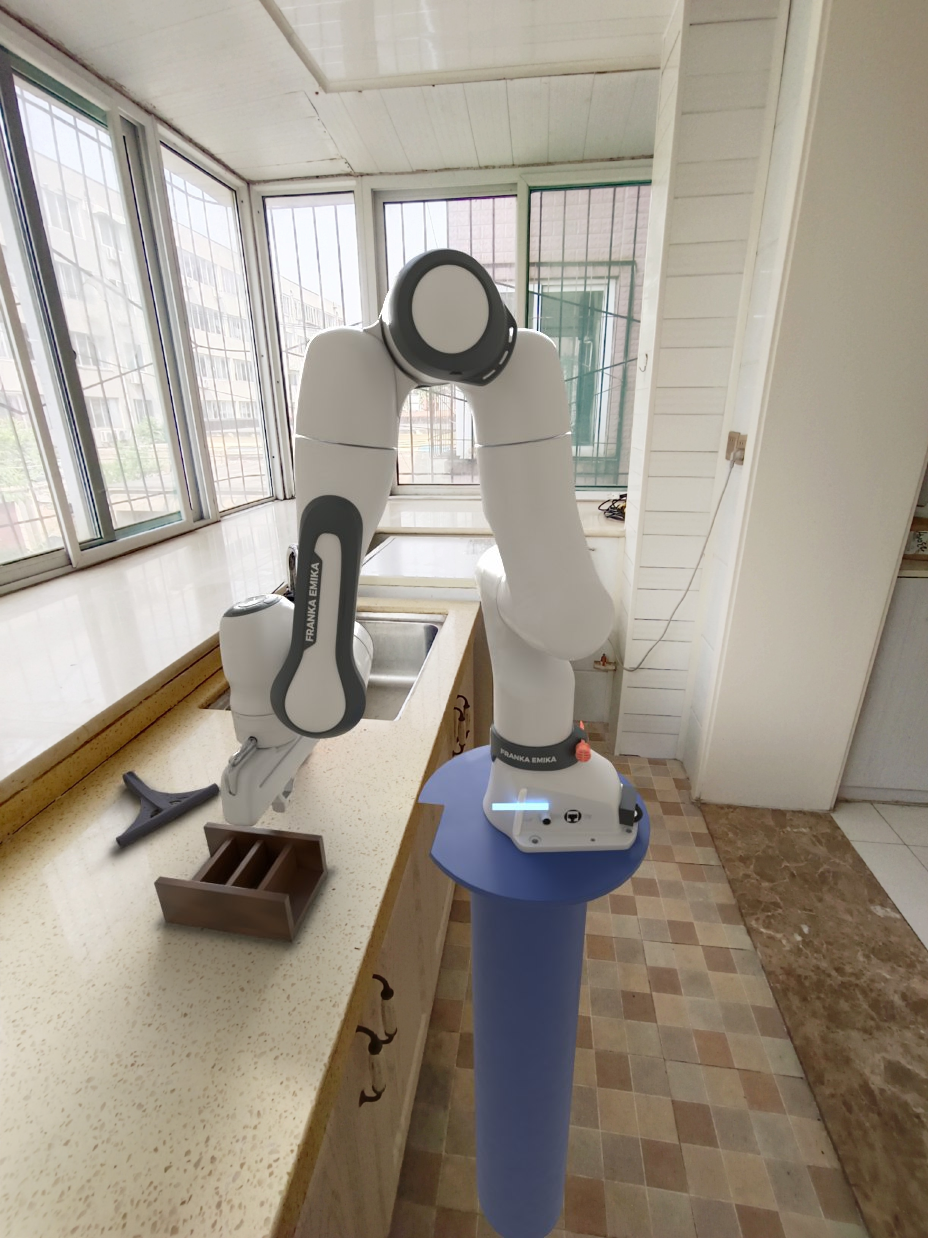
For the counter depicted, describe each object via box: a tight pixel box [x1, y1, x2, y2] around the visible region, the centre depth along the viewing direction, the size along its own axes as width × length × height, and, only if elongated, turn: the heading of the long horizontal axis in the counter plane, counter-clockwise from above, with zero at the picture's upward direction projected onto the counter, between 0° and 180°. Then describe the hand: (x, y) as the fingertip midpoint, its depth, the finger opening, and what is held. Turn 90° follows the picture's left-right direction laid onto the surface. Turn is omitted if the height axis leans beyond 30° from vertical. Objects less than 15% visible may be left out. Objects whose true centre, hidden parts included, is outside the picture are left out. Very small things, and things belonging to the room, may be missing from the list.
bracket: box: [115, 769, 221, 849], centre depth 83 cm, size 14×15×3 cm
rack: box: [153, 821, 329, 943], centre depth 66 cm, size 16×10×6 cm, turn 80°
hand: (284, 805), depth 75 cm, fingers closed
